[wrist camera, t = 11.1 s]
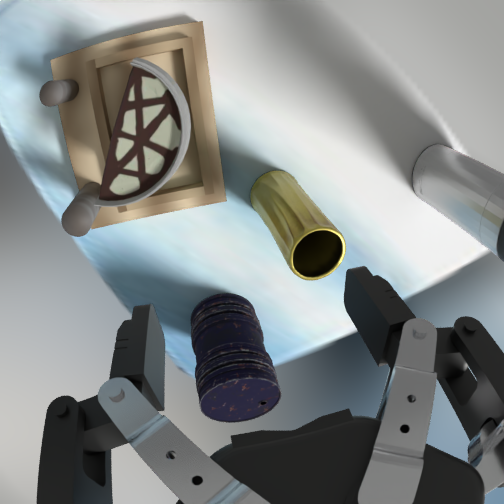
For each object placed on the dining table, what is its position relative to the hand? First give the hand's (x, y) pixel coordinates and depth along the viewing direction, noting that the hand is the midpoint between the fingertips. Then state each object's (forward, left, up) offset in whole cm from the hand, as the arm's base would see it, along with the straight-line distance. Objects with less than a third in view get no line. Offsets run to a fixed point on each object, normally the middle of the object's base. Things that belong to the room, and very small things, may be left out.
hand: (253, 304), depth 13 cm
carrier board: (+7, -5, -26) cm, 27 cm away
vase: (-7, +6, -26) cm, 28 cm away
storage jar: (+2, +24, -26) cm, 36 cm away
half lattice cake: (+5, -4, -24) cm, 25 cm away
